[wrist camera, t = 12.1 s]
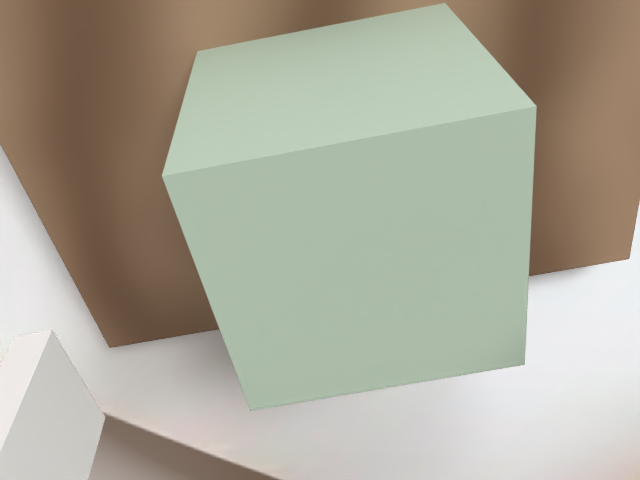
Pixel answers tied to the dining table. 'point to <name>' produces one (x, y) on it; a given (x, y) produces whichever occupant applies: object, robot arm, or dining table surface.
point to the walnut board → (262, 22)
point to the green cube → (358, 204)
